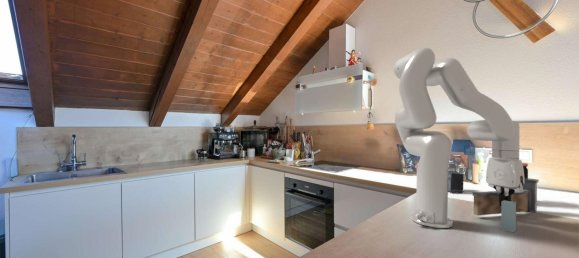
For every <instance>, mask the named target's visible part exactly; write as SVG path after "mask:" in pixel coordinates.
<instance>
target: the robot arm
mask: <svg viewBox="0 0 579 258" xmlns="http://www.w3.org/2000/svg"><path fill="white" fill-rule="evenodd" d="M393 74H394V75H395V77H396V78H398V79H400V80H399V86H398V87H399V88H398V90H399V95H400V98H401V102H402V105H401V106H400V107H399V108H398V109H397V110H396V112H395V113H394V123H395V126H396V129H397V131H398V134H399V138H400V140H401V143H402V145H403V147H404V148H405V150H406V152H407V153H409V154H410V155H412V156H416V157H419V160H418V163H417V167H416V201H415V202H416V206H415V207H416V210H415V211H416V212H414V213H412V214H411V220H412V221H414V222H415V223H416V224H419V225H422V226H425V227H431V228H437V229H447V228H448V229H449V228H452V227H453V226H454V222H453V220H452V219H451V218H450V217H449V218H448V212H449V211H448V210H449V209H448V208H449V206H448V205H449V204H448V203H449V196H448V195H449V192H448V171H449V162H450V158H451V153H452V150H453V149H452V148H453V145H452V144H453V143H452V140H451V139H450V137H449V136H448V135H447V134H446V133H444V132H441V131H436V130H425V129H430V128H432V127H434V126H435V124H436V123H437V113H436V110H435V107H434V104H433V102H432V99H431V97H430V93H429V91H428V88H427V87H437V86H440V87H441V89H442V90H443V91H444V93H445V94H446V96H447V97H448V99H449V100H450V102H451V104H453V105H454V106H455V107H459V108H461V109H462V110H463V109H464V110H466V111H469V112H472V113H475V114H477V115H479V116H480V117H481V118H483V120H482V119H481V120H475V121H473V122H470V123H469V124H468V125H467V127H466V133H467V135H468V136H469V138H471V139H473V140H475V141H481V142H491V150H489V151H488V154H489V155H491V157H489V158H488V161H487V166H486V171H485V172H486V173H485V182H486V183H487V185H488V187H490V188H491V189H492V188H493V190H494V191H497V194H499V205H500V206H501V202H502V201H504V200H505V201H511V195H513V194H514V193H520V192H524V190H523V187H524V169H523V165H522V163H523V161H522V159H520V131H521V130H520V123H519V122H518V121H515V120H512V118H511V116H510V115H509V113H508V111H507V110H506V109H505V108H504V107H503V106H502V105H501V104H500V103H499V102H497V101H495V100H494V99H492V98H490V97H489V96H487V95H485V94H484V93H481V91H479V90H478V88H477V87H476V85H475V84H474V82H473V81H472V79H471V78H470V77H469V74H468V73H467V71H466V70H465V68H464V67H463V65H462V64H461V62H460V61H459V60H458V59H456V58H453V57H448V58H444V59H441V60H438V61H436V54H435V52H434V51H433V49H431V48H429V47H422V48H421V47H420V48H418V49H415V50H414V51H411V52H410V53H408V54H406V55H404V56H402V57H401V58H399V59H398V60H396V62H395V64H394V65H393ZM514 188H516V189H514Z"/></svg>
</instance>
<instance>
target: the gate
mask: <svg viewBox="0 0 579 258" xmlns="http://www.w3.org/2000/svg"><path fill="white" fill-rule="evenodd" d="M472 196H473V215H475V216H486V215H488V216H490V215H500V214H501V206H500V205H499V194H497V191H496V190H490V191H472ZM511 202H516V213H529V212H531V190H527V189H524V192H520V193H514V194H513V195H511Z"/></svg>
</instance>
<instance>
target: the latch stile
mask: <svg viewBox="0 0 579 258" xmlns="http://www.w3.org/2000/svg"><path fill="white" fill-rule="evenodd" d="M500 217H501V218H500V219H501V220H500V223H501V224H500V226H501V227H500V229H501V231H506V232H509V233H515V231H517V228H516V227H517V212H516V202H511V201H505V200H504V201H502V202H501V216H500Z"/></svg>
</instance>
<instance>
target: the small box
mask: <svg viewBox="0 0 579 258" xmlns="http://www.w3.org/2000/svg"><path fill="white" fill-rule="evenodd" d="M464 176H465V175H464V173H462V172H459V171H455V170H448V194H458V195H459V194H460V195H461V194H462V195H464Z"/></svg>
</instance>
